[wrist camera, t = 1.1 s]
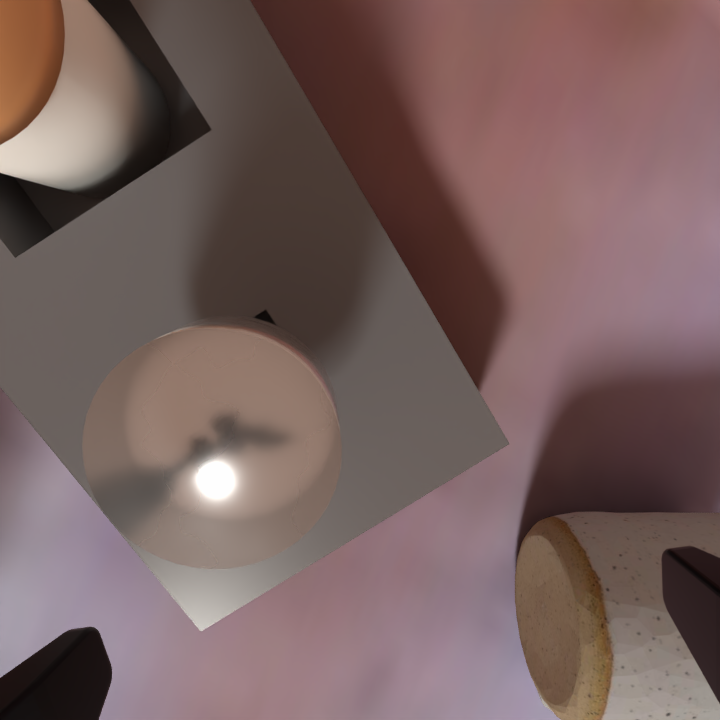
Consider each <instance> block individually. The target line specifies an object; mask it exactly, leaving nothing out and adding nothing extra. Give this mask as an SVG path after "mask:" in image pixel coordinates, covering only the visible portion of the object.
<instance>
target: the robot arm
mask: <svg viewBox="0 0 720 720" xmlns="http://www.w3.org/2000/svg"><path fill="white" fill-rule="evenodd" d="M661 564H662V593H663V600H664V603H665V606H666V609H667V611H668V613H669V615H670V617H671V618H672V620H673V622H674V624H675V626H676V627H677V629H678V631H679V633H680V635H681V636H682V638H683V640H684V642H685V643H686V645H687V647H688V649H689V651H690V652H691V654H692V656H693V658H694V659H695V661H696V663H697V665H698V667H699V668H700V670H701V672H702V674H703V675H704V677H705V679H706V681H707V683H708V684H709V686H710V688H711V690H712V691H713V693H714V695H715V697H716V699H717V700H718V702H719V704H720V557H717V556H715V555H713V554H710V553H708V552H706V551H703V550H701V549H699V548H696V547H694V546H683V547H675V548H668V549H666V550H664V551H663V553H662V558H661ZM111 679H112V667H111V663H110V661H109V658H108V655H107V652H106V649H105V647H104V644H103V641H102V638H101V635H100V633H99V631H98V630H97V629H96V628H94V627H84V628H77V629H71V630H68V631H66V632H65V633H63V634H62V635H60V636H59V637H58V638H56V639H55V640H53V641H52V642H51V643H49V644H48V645H46V646H45V647H43V648H42V649H41V650H39V651H38V652H36V653H35V654H34V655H32V656H31V657H29V658H28V659H26V660H25V661H24V662H22V663H21V664H19V665H18V666H17V667H15V668H14V669H12V670H11V671H9V672H8V673H7V674H5V675H4V676H2V677H1V678H0V720H99V717H100V714H101V711H102V708H103V705H104V702H105V699H106V696H107V693H108V690H109V687H110V684H111Z"/></svg>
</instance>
